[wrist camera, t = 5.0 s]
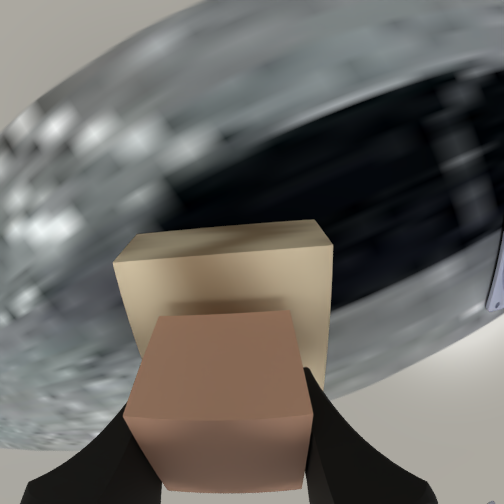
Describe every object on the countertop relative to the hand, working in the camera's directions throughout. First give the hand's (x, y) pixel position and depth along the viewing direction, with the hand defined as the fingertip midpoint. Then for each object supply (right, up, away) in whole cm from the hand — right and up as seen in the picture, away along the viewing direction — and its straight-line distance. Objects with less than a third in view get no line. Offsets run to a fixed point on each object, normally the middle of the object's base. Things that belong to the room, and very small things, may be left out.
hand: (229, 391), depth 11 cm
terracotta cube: (0, +1, +1) cm, 2 cm away
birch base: (0, +2, +6) cm, 6 cm away
